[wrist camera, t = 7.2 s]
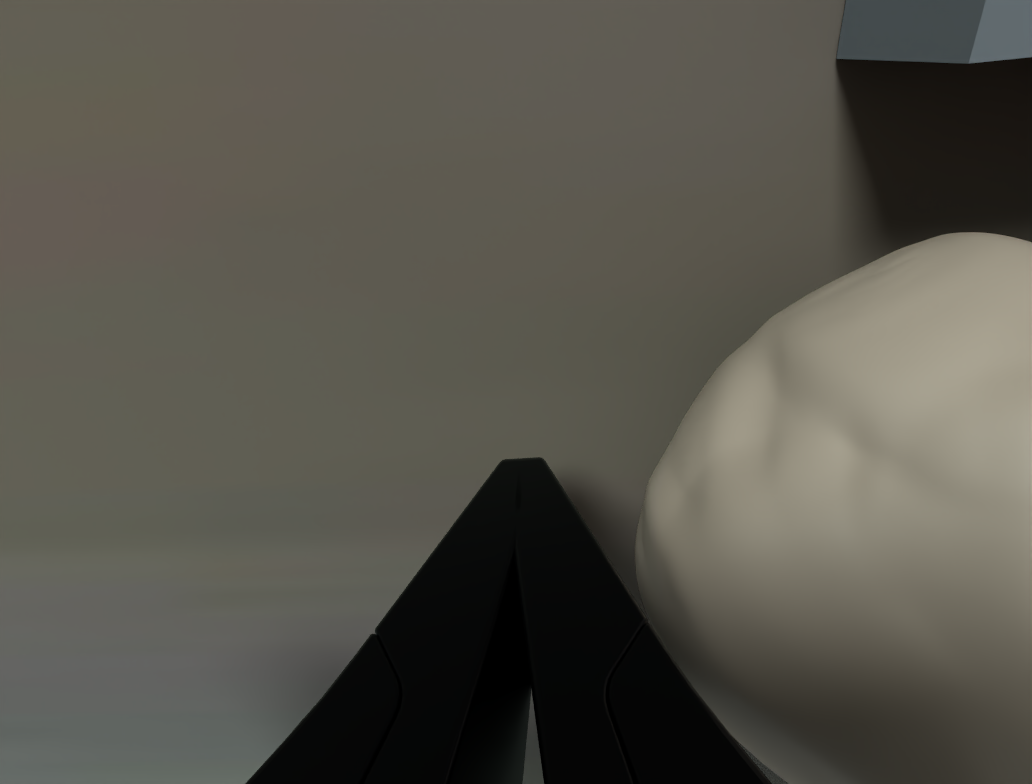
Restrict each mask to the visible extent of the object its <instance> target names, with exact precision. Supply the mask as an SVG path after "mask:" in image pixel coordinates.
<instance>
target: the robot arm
mask: <svg viewBox="0 0 1032 784" xmlns="http://www.w3.org/2000/svg"><path fill="white" fill-rule="evenodd" d="M375 633H376V634H371V635H370V636H369V637H368V639H367V640H366V642H365V643H364V644H363V646H362V647H361V648H360V650H359V651H358V652H357V654H356V655H355V656H354V658H353V659H352V660H351V661H350V663H349V664H348V665H347V666H346V668H345V669H344V670H343V672H342V673H341V674H340V675H339V677H338V678H337V679H336V680H335V682H334V683H333V684H332V685H331V687H330V688H329V689H328V691H327V692H326V693H325V694H324V696H323V697H322V698H321V699H320V700H319V702H318V703H317V704H316V705H315V706H314V707H313V708H312V710H311V711H310V712H309V713H308V714H307V715H306V716H305V718H304V719H303V720H302V721H301V722H300V723H299V725H298V726H297V727H296V728H295V729H294V730H293V731H292V733H291V734H290V735H289V736H288V737H287V738H286V739H285V741H284V742H283V743H282V744H281V745H280V746H279V747H278V748H277V750H276V751H275V752H274V753H273V754H272V755H271V756H270V757H269V758H268V759H267V761H266V762H265V763H264V764H263V765H262V766H261V767H260V768H259V769H258V770H257V772H256V773H255V774H254V775H253V776H252V777H251V778H250V779H249V780H248V781H247V783H246V784H522V781H523V770H524V760H525V749H526V739H527V729H528V718H529V708H530V697H531V688H532V696H533V703H534V711H535V718H536V726H537V733H538V741H539V748H540V756H541V763H542V771H543V778H544V784H772V783H771V782H770V781H769V780H768V779H767V777H766V776H765V775H764V774H763V773H762V771H761V770H760V769H759V768H758V767H757V765H756V764H755V763H754V762H753V761H752V759H751V758H750V757H749V756H748V755H747V753H746V752H745V751H744V750H743V749H742V747H741V746H740V745H739V744H738V743H737V741H736V740H735V739H734V738H733V736H732V735H731V734H730V733H729V732H728V730H727V729H726V728H725V726H724V725H723V724H722V723H721V721H720V720H719V719H718V718H717V716H716V715H715V714H714V712H713V711H712V710H711V709H710V707H709V706H708V705H707V704H706V702H705V701H704V700H703V699H702V697H701V696H700V695H699V693H698V692H697V691H696V690H695V688H694V687H693V685H692V684H691V683H690V681H689V680H688V678H687V677H686V675H685V674H684V672H683V671H682V670H681V668H680V667H679V665H678V664H677V662H676V661H675V660H674V658H673V657H672V655H671V654H670V652H669V651H668V649H667V648H666V646H665V645H664V643H663V642H662V640H661V639H660V637H659V636H658V634H657V632H656V631H655V629H654V628H653V626H652V625H651V624H648V619H647V618H646V616H645V614H644V613H643V611H642V610H641V608H640V607H639V605H638V604H637V602H636V601H635V599H634V597H633V596H632V594H631V593H630V591H629V590H628V588H627V587H626V585H625V584H624V582H623V580H622V579H621V577H620V576H619V574H618V573H617V571H616V570H615V568H614V567H613V565H612V563H611V562H610V560H609V559H608V557H607V556H606V554H605V553H604V551H603V550H602V548H601V546H600V545H599V543H598V542H597V540H596V539H595V537H594V536H593V534H592V533H591V531H590V529H589V528H588V526H587V525H586V523H585V522H584V520H583V519H582V517H581V516H580V514H579V512H578V511H577V509H576V508H575V506H574V505H573V503H572V502H571V500H570V499H569V497H568V495H567V494H566V492H565V491H564V489H563V488H562V486H561V485H560V483H559V482H558V480H557V478H556V477H555V475H554V474H553V472H552V471H551V469H550V468H549V466H548V465H547V463H546V461H545V460H544V459H543V458H540V457H536V458H520V459H505V460H502V461H501V462H500V463H499V464H498V465H497V467H496V468H495V470H494V471H493V472H492V474H491V475H490V476H489V478H488V479H487V480H486V482H485V483H484V484H483V486H482V487H481V488H480V490H479V491H478V492H477V494H476V495H475V496H474V498H473V499H472V500H471V502H470V503H469V504H468V506H467V507H466V508H465V510H464V511H463V512H462V514H461V515H460V516H459V518H458V519H457V520H456V522H455V523H454V524H453V526H452V527H451V528H450V530H449V531H448V532H447V534H446V535H445V536H444V538H443V539H442V540H441V542H440V543H439V544H438V546H437V547H436V548H435V550H434V551H433V552H432V554H431V555H430V556H429V558H428V559H427V560H426V562H425V563H424V564H423V566H422V567H421V568H420V570H419V571H418V572H417V574H416V575H415V576H414V578H413V579H412V580H411V582H410V583H409V584H408V586H407V587H406V589H405V590H404V591H403V593H402V594H401V595H400V597H399V598H398V599H397V601H396V602H395V603H394V605H393V606H392V607H391V609H390V610H389V611H388V613H387V614H386V615H385V617H384V618H383V619H382V621H381V622H380V623H379V625H378V626H377V627H376V629H375Z"/></svg>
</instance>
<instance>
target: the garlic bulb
mask: <svg viewBox="0 0 1032 784" xmlns="http://www.w3.org/2000/svg"><path fill="white" fill-rule="evenodd" d="M635 568H636V577H637V583H638V588H639V592H640V596H641V600H642V603H643V606H644V609H645V611H646V614H647V616H648V618H649V620H650V622H651V625H652V626H653V628H654V629H655V631H656V632H657V634H658V636H659V637H660V639H661V640H662V642H663V643H664V645H665V646H666V648H667V649H668V651H669V652H670V654H671V655H672V657H673V658H674V660H675V661H676V662H677V664H678V665H679V667H680V668H681V670H682V671H683V672H684V674H685V675H686V677H687V678H688V680H689V681H690V683H691V684H692V685H693V687H694V688H695V690H696V691H697V692H698V693H699V695H700V696H701V697H702V699H703V700H704V701H705V702H706V704H707V705H708V706H709V707H710V709H711V710H712V711H713V712H714V714H715V715H716V716H717V718H718V719H719V720H720V721H721V723H722V724H723V725H724V726H725V728H726V729H727V730H728V732H729V733H730V734H731V735H732V736H733V737H734V738H735V739H736V740H737V741H738V742H739V743H740V744H741V745H742V746H744V747H745V748H746V749H747V750H748V751H749V752H750V753H751V754H753V755H754V756H755V757H756V758H757V759H758V760H759V761H760V762H762V763H763V764H764V765H765V766H766V767H768V768H769V769H770V770H772V771H773V772H774V773H775V774H777V775H778V776H779V777H781V778H782V779H783V780H784V781H786V782H787V783H788V784H1032V242H1029V241H1026V240H1022V239H1018V238H1014V237H1010V236H1005V235H998V234H991V233H981V232H959V233H950V234H944V235H940V236H936V237H933V238H930V239H927V240H924V241H921V242H918V243H915V244H912V245H909V246H906V247H903V248H901V249H898V250H896V251H894V252H891V253H889V254H887V255H885V256H883V257H881V258H879V259H877V260H875V261H873V262H871V263H869V264H867V265H865V266H863V267H861V268H859V269H857V270H855V271H853V272H851V273H848V274H846V275H844V276H842V277H840V278H838V279H836V280H834V281H832V282H830V283H828V284H826V285H824V286H822V287H820V288H818V289H817V290H815V291H813V292H811V293H809V294H808V295H806V296H804V297H803V298H801V299H799V300H798V301H796V302H794V303H793V304H791V305H790V306H788V307H787V308H785V309H783V310H782V311H780V312H778V313H777V314H775V315H774V316H773V317H771V318H770V319H769V320H768V321H767V322H765V323H764V324H763V325H762V326H761V327H760V328H759V330H758V331H757V332H756V333H755V334H754V335H753V336H752V337H751V338H750V339H749V340H747V341H746V342H745V343H744V344H743V345H742V346H740V347H739V348H738V349H737V350H735V351H734V352H733V353H732V354H730V355H729V356H728V357H727V358H726V359H725V360H724V361H723V362H722V363H721V364H720V366H719V367H718V368H717V369H716V370H715V372H714V373H713V374H712V376H711V377H710V378H709V380H708V381H707V383H706V384H705V386H704V387H703V388H702V390H701V391H700V393H699V394H698V396H697V397H696V399H695V400H694V402H693V403H692V405H691V407H690V408H689V410H688V412H687V413H686V415H685V416H684V418H683V420H682V421H681V423H680V425H679V427H678V429H677V431H676V433H675V435H674V436H673V438H672V440H671V442H670V444H669V445H668V447H667V449H666V450H665V452H664V454H663V456H662V458H661V459H660V461H659V463H658V464H657V466H656V468H655V469H654V471H653V473H652V475H651V477H650V479H649V482H648V484H647V488H646V492H645V499H644V503H643V507H642V511H641V515H640V518H639V522H638V527H637V534H636V542H635Z"/></svg>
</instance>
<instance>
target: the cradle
mask: <svg viewBox="0 0 1032 784" xmlns="http://www.w3.org/2000/svg"><path fill="white" fill-rule="evenodd" d="M1028 57H1032V0H846V3H845V9H844V15H843V21H842V27H841V33H840V39H839V45H838V51H837V57H836V59H858V60H885V61H912V62H939V63H966V64H969V63H979V62H989V61H999V60H1008V59H1018V58H1028Z"/></svg>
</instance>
